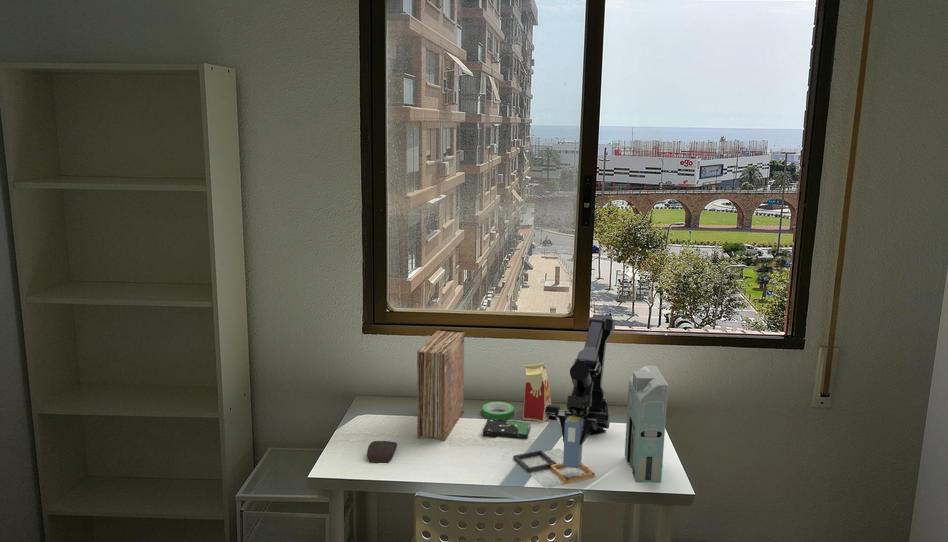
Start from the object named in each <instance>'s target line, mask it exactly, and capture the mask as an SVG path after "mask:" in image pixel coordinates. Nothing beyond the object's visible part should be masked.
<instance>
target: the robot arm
mask: <svg viewBox="0 0 948 542" xmlns="http://www.w3.org/2000/svg"><path fill="white" fill-rule="evenodd" d="M586 326H587V329H588V332H587V335H586V340H585V343H584V347H583V349H582V350H580V351H579V352H578V353H577V357H576V358H575V359H574V361H573V363H572V365H571V367H570V368H569V376H570V378H571V383H572V384H573V386H572V392H571V394H570V395H568V396H567V401H566V408H567V410H568V411H567V410H562V409H561V406H560V405H554V404H551V405H548V406H547V407H546V409H545V414H546V417H547V419H546V420H548V421H552V422H553V421H554V422H557V424H558V425H560V426H561V434H562V441H563V443H564V432H565V421H566V419H567V417H568V416H575V417H580V418H583V432H582V436H581V439H580V445H582V446H583V444H584V442H585V441H586V440H587V438H588V436H593V435H597V434H598V435H599V434H602V433H603V434H604V433H607V432H606V431H607V429H609V428H610V426H611V425H610V423H611V420H610V415H609V404H608V402H607V401H608V400H607V398H606V393H605V390H604V388H603V376H604V367H605V366H604V365H605V360H606V359H605V358H606V346H607V342H608V341H609V340H610V338H611V337H612V335H613V331H614V330H615V328H616V327H615V326H616V320H615V319H613V317H612V316H611V315H606V314H592V316H588V317H587V325H586Z"/></svg>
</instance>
